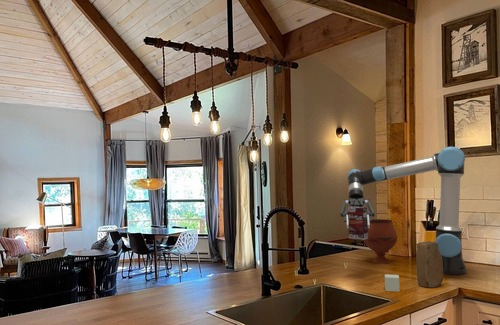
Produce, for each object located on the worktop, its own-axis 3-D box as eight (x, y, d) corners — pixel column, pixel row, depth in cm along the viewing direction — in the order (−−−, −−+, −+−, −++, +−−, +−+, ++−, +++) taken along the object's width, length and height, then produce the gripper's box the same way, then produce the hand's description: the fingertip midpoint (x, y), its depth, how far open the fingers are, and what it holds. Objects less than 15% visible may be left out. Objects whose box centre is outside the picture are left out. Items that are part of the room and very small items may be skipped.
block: (426, 288, 185) (424, 244, 186) (415, 284, 192) (413, 241, 193) (446, 286, 188) (444, 242, 189) (434, 282, 196) (432, 240, 196)
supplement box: (348, 238, 209) (347, 207, 209) (353, 237, 212) (351, 206, 213) (364, 240, 203) (362, 207, 203) (368, 238, 206) (367, 206, 207)
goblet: (359, 259, 253) (357, 219, 254) (389, 258, 255) (387, 217, 256) (371, 266, 234) (369, 222, 235) (403, 264, 236) (402, 221, 237)
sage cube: (399, 288, 188) (398, 274, 188) (399, 291, 182) (399, 277, 182) (385, 287, 190) (384, 274, 190) (385, 290, 184) (384, 277, 184)
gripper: (377, 197, 221) (381, 231, 205) (335, 198, 226) (335, 231, 210) (377, 187, 216) (381, 221, 200) (334, 188, 221) (335, 221, 205)
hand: (358, 226), depth 205 cm, fingers closed on supplement box, 9 cm apart
